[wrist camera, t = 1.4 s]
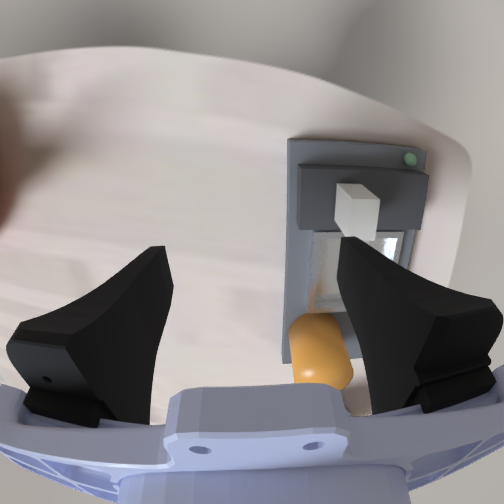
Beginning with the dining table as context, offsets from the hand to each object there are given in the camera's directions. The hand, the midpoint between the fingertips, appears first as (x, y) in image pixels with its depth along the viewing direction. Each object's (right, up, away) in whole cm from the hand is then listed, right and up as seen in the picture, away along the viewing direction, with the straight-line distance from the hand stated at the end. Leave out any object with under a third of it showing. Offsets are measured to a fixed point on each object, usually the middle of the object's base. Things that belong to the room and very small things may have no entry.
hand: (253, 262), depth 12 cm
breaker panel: (+8, 0, +12) cm, 14 cm away
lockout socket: (+8, -1, +10) cm, 13 cm away
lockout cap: (+5, -6, +13) cm, 15 cm away
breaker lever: (+6, +4, +6) cm, 9 cm away
